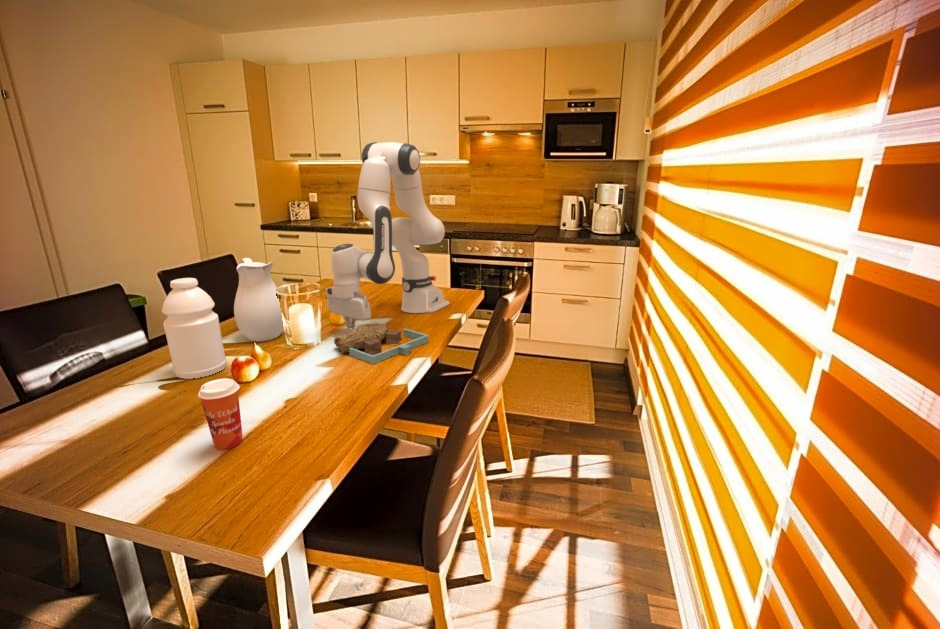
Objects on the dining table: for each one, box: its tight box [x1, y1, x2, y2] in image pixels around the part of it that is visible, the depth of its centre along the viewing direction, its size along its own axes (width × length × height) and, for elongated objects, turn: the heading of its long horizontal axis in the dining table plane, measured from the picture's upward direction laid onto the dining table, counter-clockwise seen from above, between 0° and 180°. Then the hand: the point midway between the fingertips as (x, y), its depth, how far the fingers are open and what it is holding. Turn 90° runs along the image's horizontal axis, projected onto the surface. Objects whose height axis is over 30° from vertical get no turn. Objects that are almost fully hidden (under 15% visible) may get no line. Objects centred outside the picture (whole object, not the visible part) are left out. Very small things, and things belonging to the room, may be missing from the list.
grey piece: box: [348, 328, 430, 365], centre depth 153 cm, size 25×14×2 cm, turn 141°
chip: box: [364, 339, 383, 355], centre depth 150 cm, size 4×4×4 cm
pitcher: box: [233, 257, 284, 343], centre depth 166 cm, size 24×17×28 cm
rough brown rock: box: [333, 322, 389, 354], centre depth 157 cm, size 13×8×20 cm
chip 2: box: [385, 329, 402, 345], centre depth 159 cm, size 4×4×4 cm
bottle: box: [161, 277, 227, 380], centre depth 135 cm, size 14×14×28 cm
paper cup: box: [198, 378, 244, 451], centre depth 99 cm, size 8×8×14 cm
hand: (350, 327), depth 166 cm, fingers closed
